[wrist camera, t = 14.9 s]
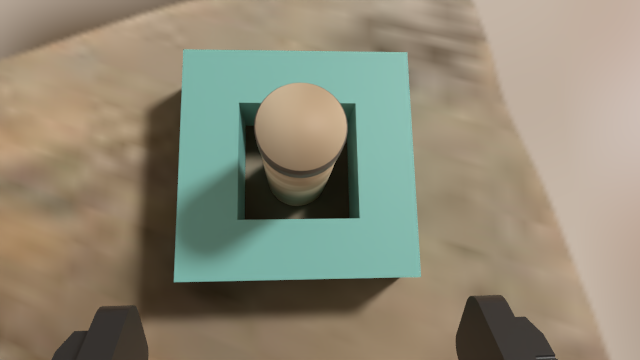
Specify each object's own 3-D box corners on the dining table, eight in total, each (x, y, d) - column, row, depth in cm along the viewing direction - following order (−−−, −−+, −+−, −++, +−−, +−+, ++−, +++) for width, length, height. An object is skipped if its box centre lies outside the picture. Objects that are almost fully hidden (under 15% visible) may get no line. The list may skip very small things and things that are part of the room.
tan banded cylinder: (266, 207, 24) (253, 172, 15) (266, 147, 25) (253, 81, 16) (328, 206, 25) (349, 171, 16) (326, 147, 25) (346, 81, 16)
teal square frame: (190, 280, 23) (173, 282, 20) (197, 79, 25) (183, 49, 22) (402, 275, 24) (421, 276, 21) (391, 80, 26) (407, 52, 23)
